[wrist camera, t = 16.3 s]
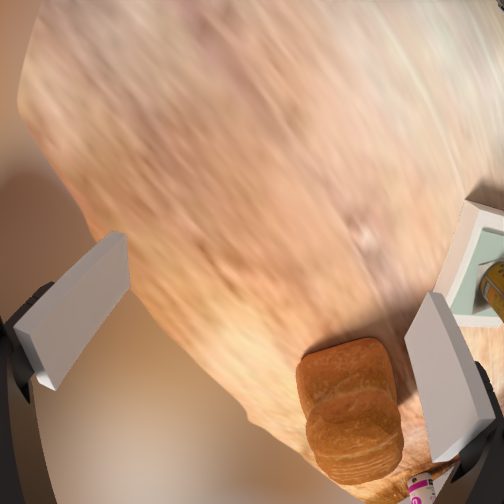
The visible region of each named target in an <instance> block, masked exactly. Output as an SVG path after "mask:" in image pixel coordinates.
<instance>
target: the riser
mask: <svg viewBox="0 0 504 504" xmlns="http://www.w3.org/2000/svg"><path fill="white" fill-rule="evenodd" d="M503 258H504V211H502V210H499V209H495V208H492V207H489V206H486V205H482V204H479V203H476V202H472V201H469V200H464V204H463V207H462V211H461V214H460V217H459V220H458V224H457V227H456V230H455V233H454V236H453V239H452V242H451V245H450V247H449V250H448V253H447V256H446V258H445V261H444V264H443V266H442V269H441V272H440V274H439V277H438V279H437V282H436V284H435V286H434V289H433V291H432V292H436V293H442V295H443V297H444V298H445V300H446V302H447V304H448V306H449V308H450V310H451V312H452V314H453V316H454V318H455V320H456V322H457V324H458V326H467V327H498V328H500V326H501V324H502V322H503V321H502V320H501V319H500V317H499V316H498V315H497V314H496V312H495V311H494V310H493V308H490V309H486V310H484V311H481V312H478V313H476V314H474V315H472V311H473V303H474V298H475V288H476V281H477V274H478V266H480V265H484V264H487V263H490V262H493V261H497V260H500V259H503Z"/></svg>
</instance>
